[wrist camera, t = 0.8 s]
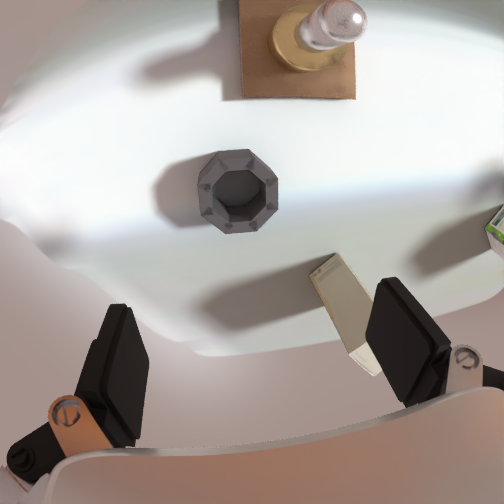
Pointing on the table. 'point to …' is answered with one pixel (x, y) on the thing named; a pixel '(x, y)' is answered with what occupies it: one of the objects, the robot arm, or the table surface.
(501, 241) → the syrup box
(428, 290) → the table surface
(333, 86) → the post stand
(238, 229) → the ring
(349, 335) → the skincare box
